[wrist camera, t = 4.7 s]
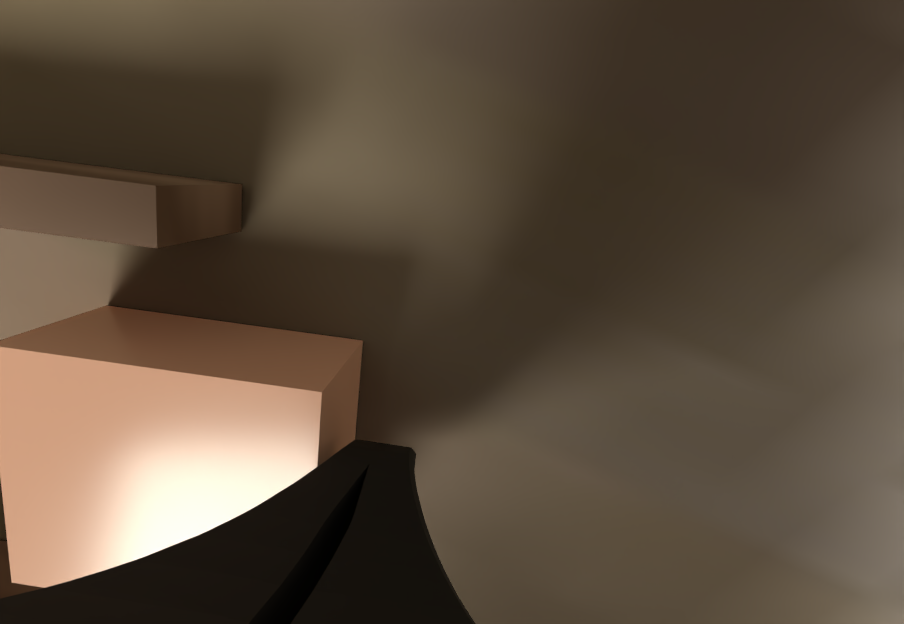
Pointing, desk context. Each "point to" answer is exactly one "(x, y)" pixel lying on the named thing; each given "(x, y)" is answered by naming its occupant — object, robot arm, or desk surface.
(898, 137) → the desk surface
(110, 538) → the salmon pink block
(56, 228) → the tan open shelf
